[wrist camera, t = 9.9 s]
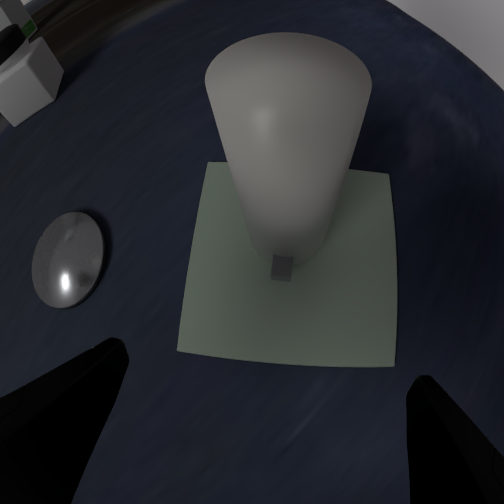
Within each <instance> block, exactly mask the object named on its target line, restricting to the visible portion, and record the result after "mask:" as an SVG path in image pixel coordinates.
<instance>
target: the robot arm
mask: <svg viewBox="0 0 504 504" xmlns="http://www.w3.org/2000/svg"><path fill="white" fill-rule="evenodd" d="M128 364H129V356H128V353H127V350H126V347H125V344H124V342H123V341H122V340H121V339H117V338H113V337H111V338H109V339H107V340H105V341H103V342H101V343H100V344H98V345H96V346H94V347H92V348H91V349H89V350H87V351H85V352H84V353H82V354H80V355H78V356H76V357H75V358H73V359H71V360H69V361H67V362H66V363H64V364H62V365H60V366H58V367H57V368H55V369H53V370H51V371H50V372H48V373H46V374H44V375H42V376H41V377H39V378H37V379H35V380H33V381H32V382H30V383H28V384H26V386H25V385H24V386H22V387H21V388H19V389H17V390H15V391H13V392H11V393H9V394H7V395H6V396H3V397H1V398H0V504H71V502H72V500H73V497H74V494H75V492H76V489H77V487H78V485H79V482H80V480H81V477H82V475H83V472H84V470H85V468H86V465H87V463H88V461H89V458H90V456H91V454H92V452H93V449H94V447H95V445H96V443H97V440H98V438H99V436H100V434H101V432H102V429H103V427H104V425H105V423H106V421H107V419H108V416H109V414H110V412H111V410H112V408H113V406H114V403H115V401H116V398H117V396H118V393H119V390H120V387H121V384H122V381H123V378H124V376H125V373H126V370H127V367H128ZM406 408H407V450H408V462H409V478H410V504H504V457H503V456H502V455H501V454H500V453H499V451H498V450H497V449H496V448H494V446H493V444H492V443H491V442H490V441H489V440H488V439H487V437H486V436H485V435H484V434H483V433H482V432H481V431H480V429H479V428H478V427H477V426H476V425H475V424H474V423H473V422H472V420H471V419H470V418H469V417H468V416H467V415H466V414H465V413H464V411H463V410H462V409H461V408H460V407H459V406H458V405H457V404H456V403H455V401H454V400H453V399H452V398H451V397H450V396H449V395H448V394H447V393H446V392H445V391H444V390H443V388H442V387H441V386H440V385H439V384H438V383H437V382H436V381H435V380H434V379H433V378H432V377H431V376H429V375H420V376H418V377H417V378H416V379H415V381H414V382H413V384H412V386H411V388H410V389H409V391H408V393H407V397H406Z"/></svg>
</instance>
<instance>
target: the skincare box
mask: <svg viewBox="0 0 504 504" xmlns="http://www.w3.org/2000/svg"><path fill="white" fill-rule="evenodd" d="M12 24H18V26H19V27H20V29H21V30H22V32H23V33H24V35H25V36H26V38H27V39H28V40H29V38H30V37H31V36H32V35H33V34H34V33H35V32H36V31H37V29H38V28H37V26H36V25H35V23H34V22H33V20H32V18H31V17H30V15H29V14H28V12H27V10H26V9H25V7H24V5H23V4H22V2H21V1H20V0H0V31H2V30H3V29H4V28H6V27H7V26H9V25H12Z"/></svg>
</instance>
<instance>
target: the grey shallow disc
mask: <svg viewBox="0 0 504 504" xmlns="http://www.w3.org/2000/svg"><path fill="white" fill-rule="evenodd" d="M106 252H107V249H106V240H105V236H104V233H103V231H102V229H101V227H100V226H99V224H98V223H97V222H96V221H95V220H94V219H92V218H91V217H90V216H88V215H87V214H84V213H81V212H70V213H67V214H64V215H62V216H60V217H59V218H57V219H56V220H55V221H53V222H52V223H51V224H50V225H49V226H48V227H47V229H46V230H45V231H44V233H43V234H42V236H41V238H40V239H39V241H38V244H37V246H36V249H35V252H34V256H33V261H32V279H33V284H34V287H35V290H36V292H37V294H38V295H39V297H40V298H41V299H42V301H43V302H45V303H46V304H47V305H49V306H52V307H55V308H59V309H70V308H74V307H76V306H78V305H80V304H81V303H83V302H84V301H85V300H86V299H87V298H88V297H89V296H90V295H91V294H92V293H93V291H94V290H95V288H96V287H97V285H98V283H99V281H100V279H101V277H102V274H103V271H104V267H105V263H106Z"/></svg>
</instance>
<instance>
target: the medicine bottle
mask: <svg viewBox="0 0 504 504" xmlns="http://www.w3.org/2000/svg"><path fill="white" fill-rule="evenodd" d="M28 43H29V41H28V39H27V38H26V36H25V35H24V33H23V32H22V30H21V29H20V27H19V26H18V24H12V25H9V26H7V27H6V28H4V29H3V30H2V31H0V112H1V113H2V114H3V116H4V117H5V118H6V119H7V120H8V121H9V122H10V123H11V124H12V125H13V126H14V127H16V126H18V125H19V124H21V123H22V122H23V121H25V120H26V119H28V118H29V117H31V116H32V115H34V114H35V113H37V112H38V111H40V110H41V109H43V108H44V107H46V106H47V105H49V104H51V103H52V102H54V101H55V100H56V96H57V92H58V89H59V86H60V82H61V79H62V76H63V73H64V70H63V68H62V67H61V65H60V64H59V62H58V61H57V59H56V58H55V56H54V55H53V53H52V52H51V50H50V49H49V47H48V45H47V44H46V42H45V41H44V39H43V38H42V37H39V38H38V39H36V40H35V41H33V42H32V43H30V44H29V45H28Z"/></svg>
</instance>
